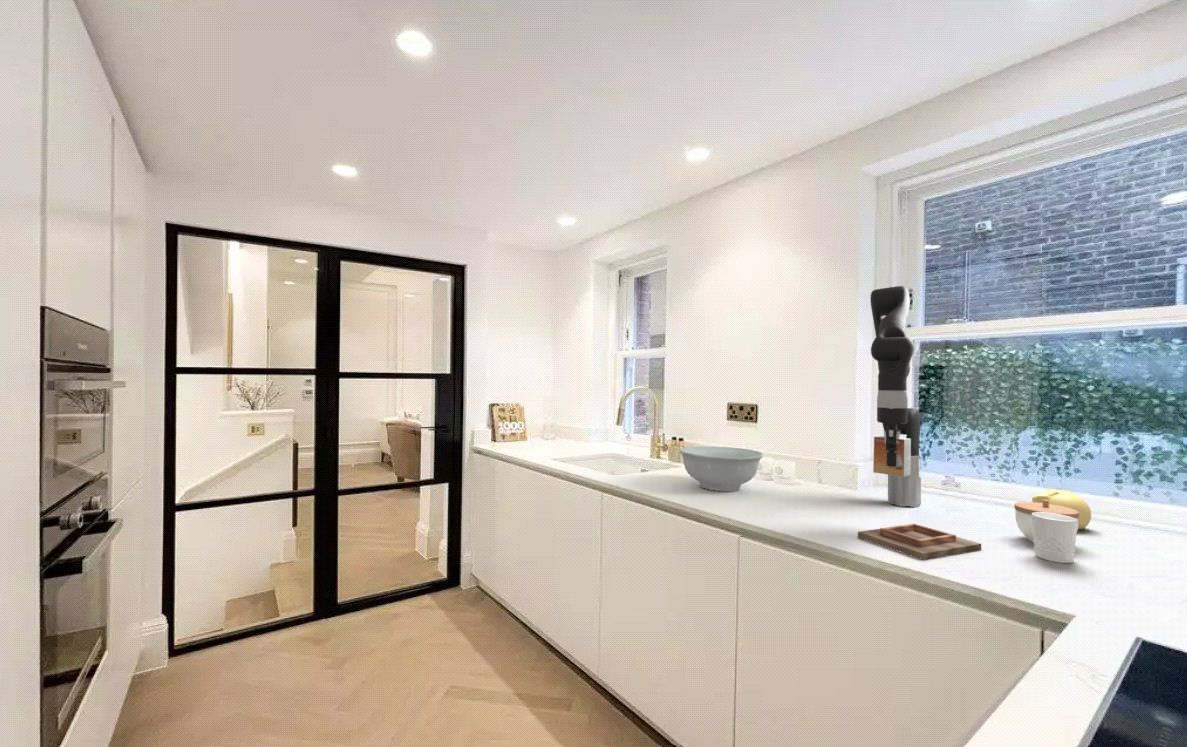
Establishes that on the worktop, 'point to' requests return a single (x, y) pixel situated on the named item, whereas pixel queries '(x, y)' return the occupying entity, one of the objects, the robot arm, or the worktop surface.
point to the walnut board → (919, 541)
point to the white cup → (1054, 536)
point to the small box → (901, 457)
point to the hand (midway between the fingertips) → (892, 464)
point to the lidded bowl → (1027, 508)
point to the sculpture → (1067, 503)
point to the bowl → (721, 466)
